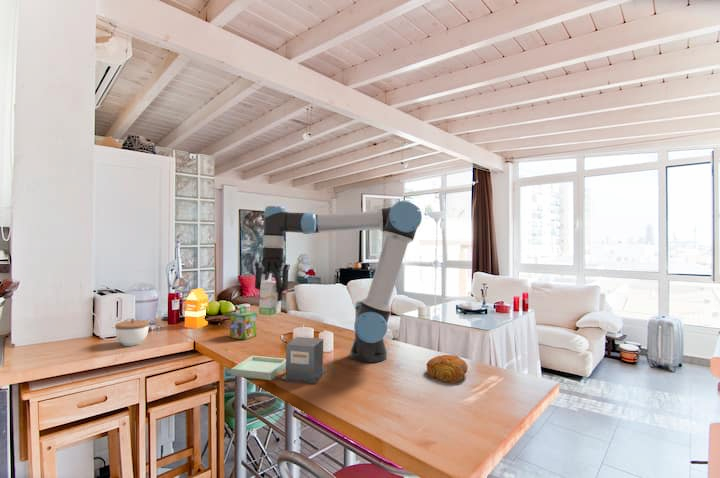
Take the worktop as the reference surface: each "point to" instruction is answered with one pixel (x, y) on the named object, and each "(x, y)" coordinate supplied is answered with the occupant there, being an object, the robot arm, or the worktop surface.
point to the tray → (259, 367)
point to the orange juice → (196, 309)
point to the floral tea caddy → (243, 324)
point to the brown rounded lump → (447, 368)
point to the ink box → (268, 296)
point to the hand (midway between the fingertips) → (270, 308)
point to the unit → (304, 360)
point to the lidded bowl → (132, 332)
